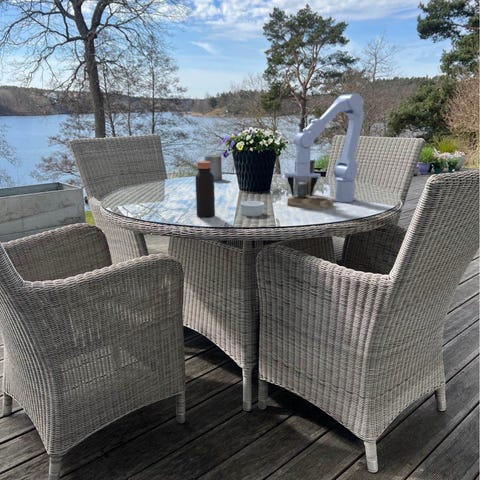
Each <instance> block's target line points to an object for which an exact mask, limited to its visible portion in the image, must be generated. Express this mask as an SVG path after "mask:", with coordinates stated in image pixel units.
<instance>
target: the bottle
mask: <svg viewBox="0 0 480 480" xmlns="http://www.w3.org/2000/svg"><path fill="white" fill-rule="evenodd" d="M210 169H211V162H209V161H205V160H204V161H197V170H198V172H197V173H196V175H195V177H194V178H195V200H196V201H195V202H196V203H195V204H196V216H197V217H198V218H201V219H202V218H205V219H206V218H213V217H214V216H215V215H216V209H215V208H216V207H215V206H216V205H215V181H214V175H213V174H212V173H211V172H210Z"/></svg>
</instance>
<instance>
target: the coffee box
mask: <svg viewBox="0 0 480 480" xmlns="http://www.w3.org/2000/svg"><path fill="white" fill-rule="evenodd" d="M315 163H316V160H315V159H312V160H311V159H310V173H315V171H316V170H315V165H316V164H315ZM294 173H296V160H295V163H294ZM298 177H300V176H298ZM299 182H305V183H306V184H307V186H306V195H307V196H310V190H311V178H294V186H293V188H294V196H296V195H297V193H298V184H299ZM314 192H315V188H314V189H313V192H312V196H314Z"/></svg>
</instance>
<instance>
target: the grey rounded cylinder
mask: <svg viewBox="0 0 480 480" xmlns="http://www.w3.org/2000/svg"><path fill="white" fill-rule="evenodd" d="M306 186H307V184H306V183H305V182H299V184H298V193H297V198H302V199H306Z"/></svg>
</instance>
